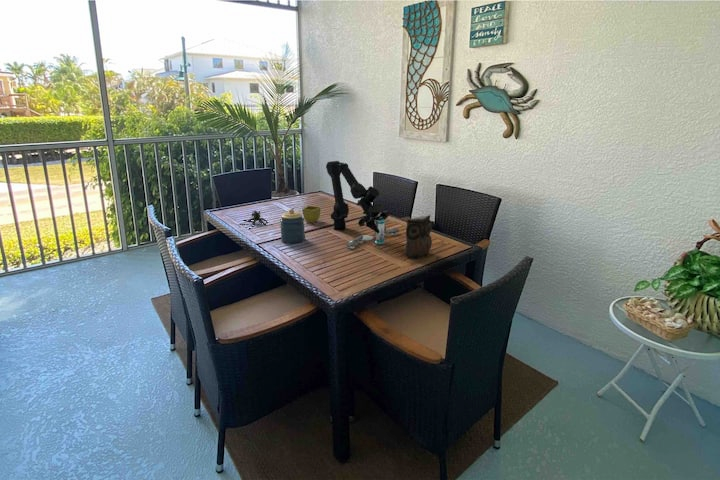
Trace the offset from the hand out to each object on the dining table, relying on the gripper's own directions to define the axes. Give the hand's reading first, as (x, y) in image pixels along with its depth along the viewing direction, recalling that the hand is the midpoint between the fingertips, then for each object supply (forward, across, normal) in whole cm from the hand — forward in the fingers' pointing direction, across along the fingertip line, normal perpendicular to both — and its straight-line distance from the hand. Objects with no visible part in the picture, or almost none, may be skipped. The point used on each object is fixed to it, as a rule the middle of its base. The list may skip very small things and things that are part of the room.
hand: (382, 231), depth 209 cm
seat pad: (-4, 0, +14) cm, 14 cm away
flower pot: (-36, -4, +46) cm, 59 cm away
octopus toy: (-51, -32, +61) cm, 86 cm away
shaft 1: (-1, -12, +10) cm, 16 cm away
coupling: (+4, 0, +6) cm, 7 cm away
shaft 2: (-1, +12, +10) cm, 16 cm away
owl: (+20, +2, -11) cm, 23 cm away
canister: (-21, -32, +31) cm, 49 cm away
